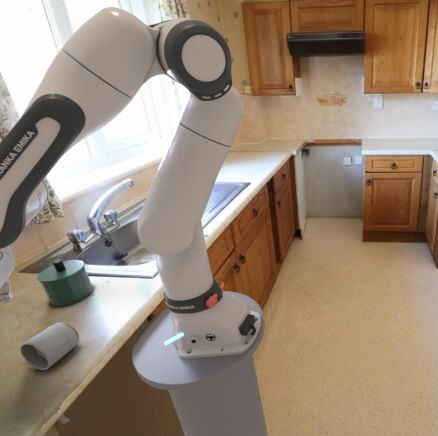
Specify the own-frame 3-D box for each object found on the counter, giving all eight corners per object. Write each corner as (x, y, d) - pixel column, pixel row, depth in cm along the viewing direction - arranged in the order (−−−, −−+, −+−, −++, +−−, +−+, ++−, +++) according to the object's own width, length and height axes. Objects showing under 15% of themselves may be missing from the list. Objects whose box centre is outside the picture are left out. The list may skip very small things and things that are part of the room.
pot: (100, 285, 101) (91, 262, 97) (73, 307, 92) (62, 282, 88) (71, 284, 102) (61, 261, 98) (42, 305, 93) (29, 281, 89)
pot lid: (94, 263, 98) (89, 251, 96) (63, 285, 88) (57, 272, 86) (62, 262, 99) (56, 250, 97) (28, 283, 89) (21, 271, 88)
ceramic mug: (86, 344, 78) (74, 320, 75) (54, 372, 71) (39, 347, 68) (51, 339, 81) (38, 315, 77) (17, 366, 73) (1, 341, 70)
